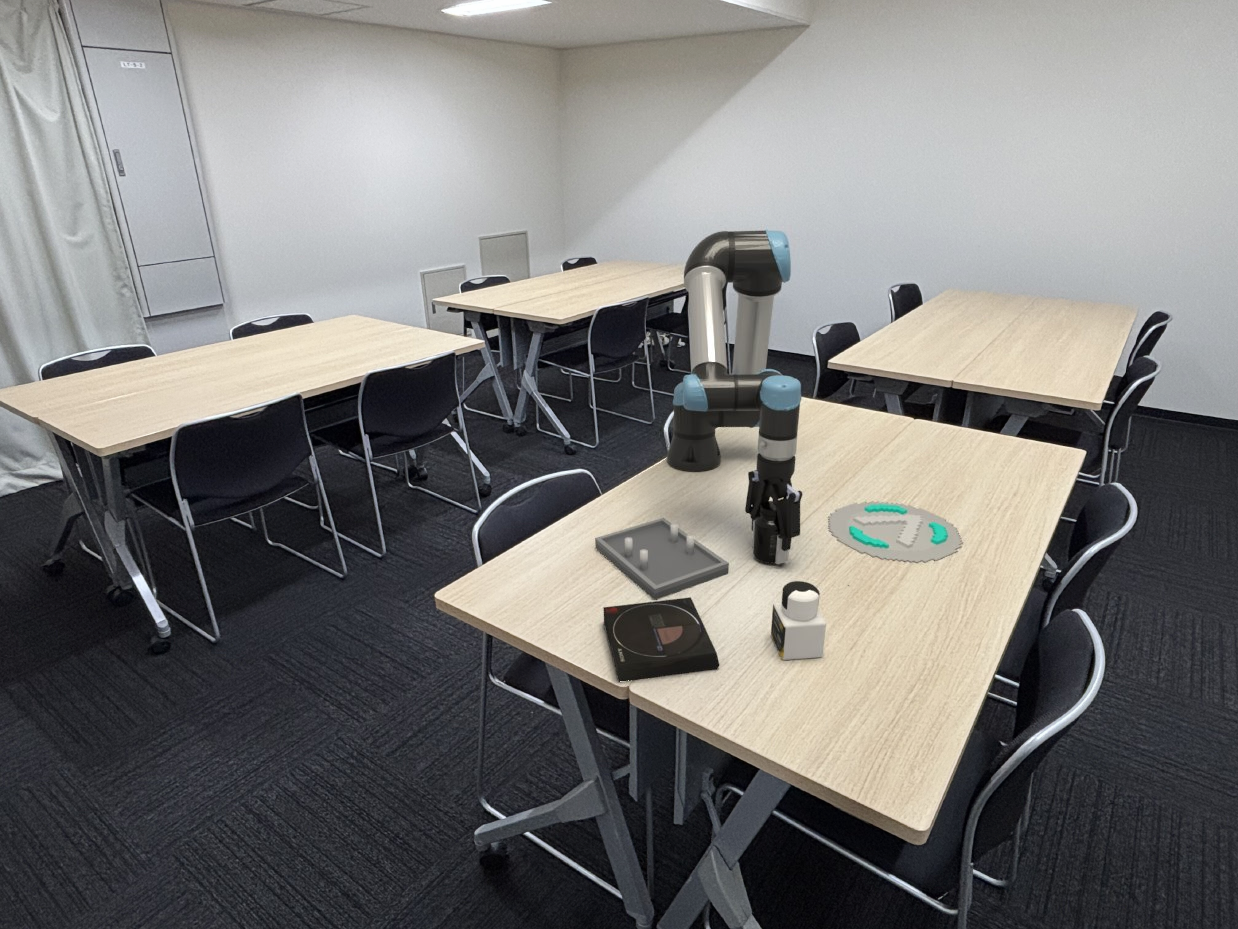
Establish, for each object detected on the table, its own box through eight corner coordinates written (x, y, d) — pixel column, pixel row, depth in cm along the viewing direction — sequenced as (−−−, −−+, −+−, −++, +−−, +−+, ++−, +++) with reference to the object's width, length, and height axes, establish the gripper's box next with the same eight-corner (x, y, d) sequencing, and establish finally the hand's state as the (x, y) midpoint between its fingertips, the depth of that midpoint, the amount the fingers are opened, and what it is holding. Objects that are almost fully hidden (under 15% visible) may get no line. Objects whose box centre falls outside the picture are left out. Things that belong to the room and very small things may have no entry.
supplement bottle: (787, 550, 153) (791, 500, 148) (783, 566, 147) (787, 515, 142) (755, 545, 155) (758, 496, 150) (750, 561, 149) (753, 510, 144)
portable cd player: (719, 671, 119) (720, 652, 117) (618, 684, 116) (618, 665, 115) (693, 614, 134) (694, 596, 132) (604, 625, 131) (603, 607, 130)
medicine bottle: (770, 635, 127) (774, 577, 122) (809, 632, 127) (814, 575, 122) (781, 661, 120) (786, 601, 115) (823, 658, 120) (829, 598, 116)
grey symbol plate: (987, 540, 157) (988, 534, 156) (901, 578, 144) (902, 571, 143) (884, 495, 179) (885, 489, 178) (802, 523, 166) (803, 517, 165)
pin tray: (595, 548, 157) (594, 526, 154) (663, 527, 165) (663, 505, 163) (654, 600, 138) (654, 575, 135) (728, 573, 146) (729, 550, 144)
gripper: (730, 442, 148) (726, 539, 157) (797, 475, 132) (788, 580, 141) (758, 435, 151) (752, 530, 160) (826, 466, 135) (816, 569, 145)
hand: (769, 553), depth 151 cm, fingers closed on supplement bottle, 7 cm apart
